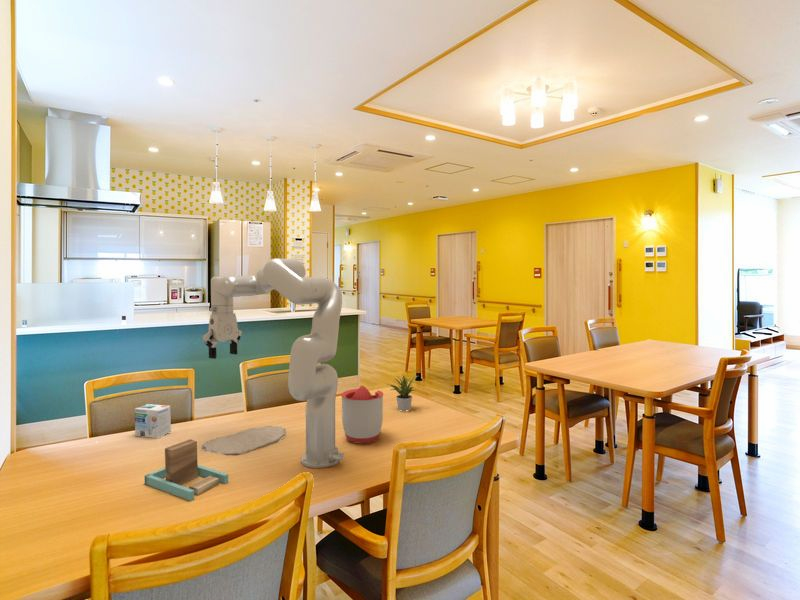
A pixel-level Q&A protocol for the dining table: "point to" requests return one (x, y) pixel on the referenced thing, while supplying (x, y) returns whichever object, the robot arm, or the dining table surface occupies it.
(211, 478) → the offcut slab upper
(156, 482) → the open frame
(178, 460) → the tall oak sheet
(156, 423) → the light bulb box
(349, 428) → the citrus juicer
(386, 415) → the dining table surface
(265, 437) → the stone tablet
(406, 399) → the house plant
